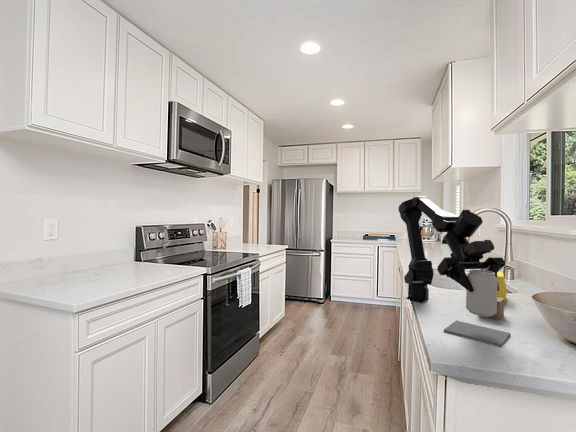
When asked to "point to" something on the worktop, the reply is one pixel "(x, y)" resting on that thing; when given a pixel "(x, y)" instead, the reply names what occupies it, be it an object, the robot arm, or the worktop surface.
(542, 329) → the worktop surface
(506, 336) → the mat
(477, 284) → the can
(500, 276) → the teapot
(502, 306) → the marked block
